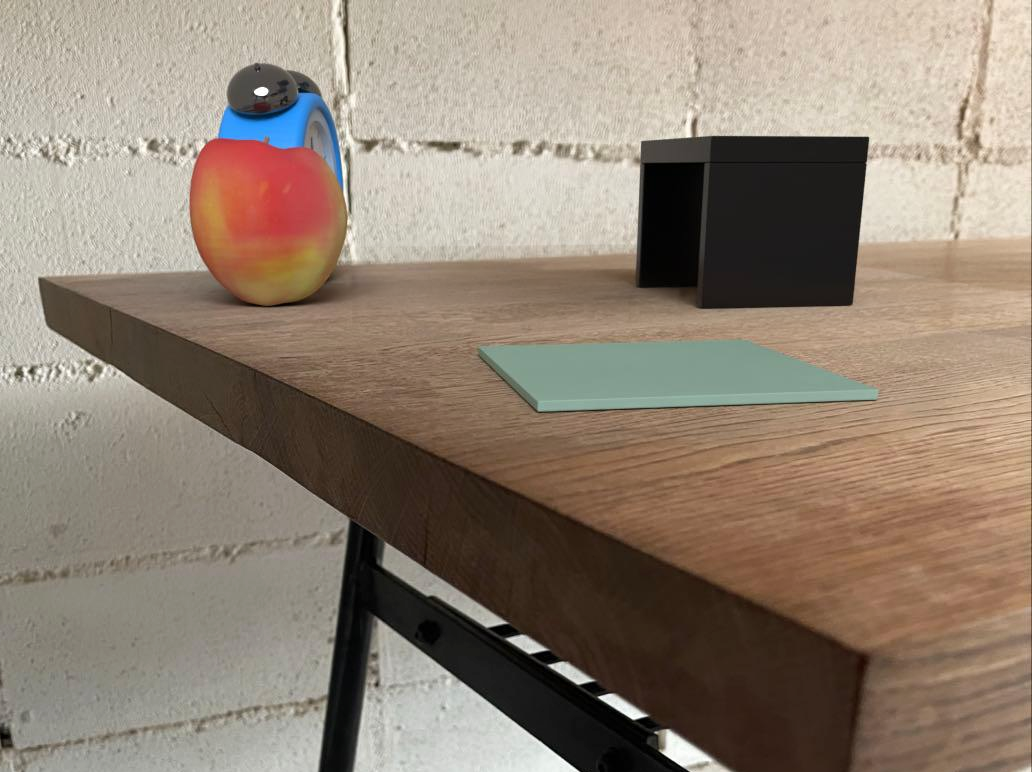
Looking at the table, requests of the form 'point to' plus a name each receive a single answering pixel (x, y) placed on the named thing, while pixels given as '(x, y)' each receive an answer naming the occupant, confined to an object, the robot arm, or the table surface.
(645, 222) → the shelf
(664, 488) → the table surface
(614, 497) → the table surface
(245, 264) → the apple
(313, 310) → the table surface
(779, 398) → the mat
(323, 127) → the alarm clock
